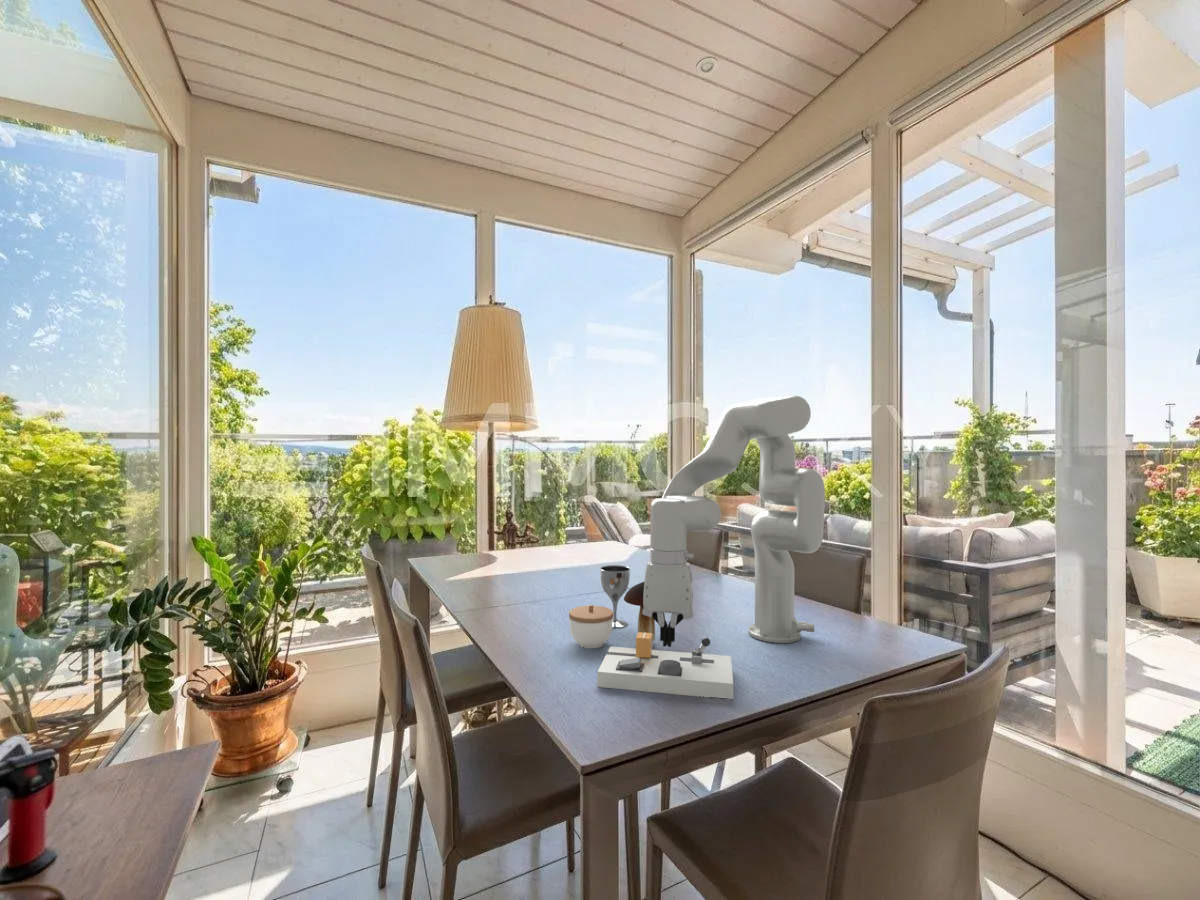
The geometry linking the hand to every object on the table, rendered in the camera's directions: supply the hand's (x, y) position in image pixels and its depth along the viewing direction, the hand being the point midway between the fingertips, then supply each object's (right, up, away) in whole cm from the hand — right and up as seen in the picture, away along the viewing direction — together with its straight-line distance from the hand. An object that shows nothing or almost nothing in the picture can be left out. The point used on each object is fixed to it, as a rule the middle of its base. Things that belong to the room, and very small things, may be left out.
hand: (667, 644), depth 113 cm
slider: (-5, -3, +1) cm, 6 cm away
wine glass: (-10, -6, +32) cm, 34 cm away
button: (0, -5, -7) cm, 8 cm away
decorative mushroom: (-3, -6, +17) cm, 18 cm away
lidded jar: (-16, -6, +17) cm, 24 cm away
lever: (+6, -2, -1) cm, 6 cm away
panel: (-1, -6, -3) cm, 7 cm away
